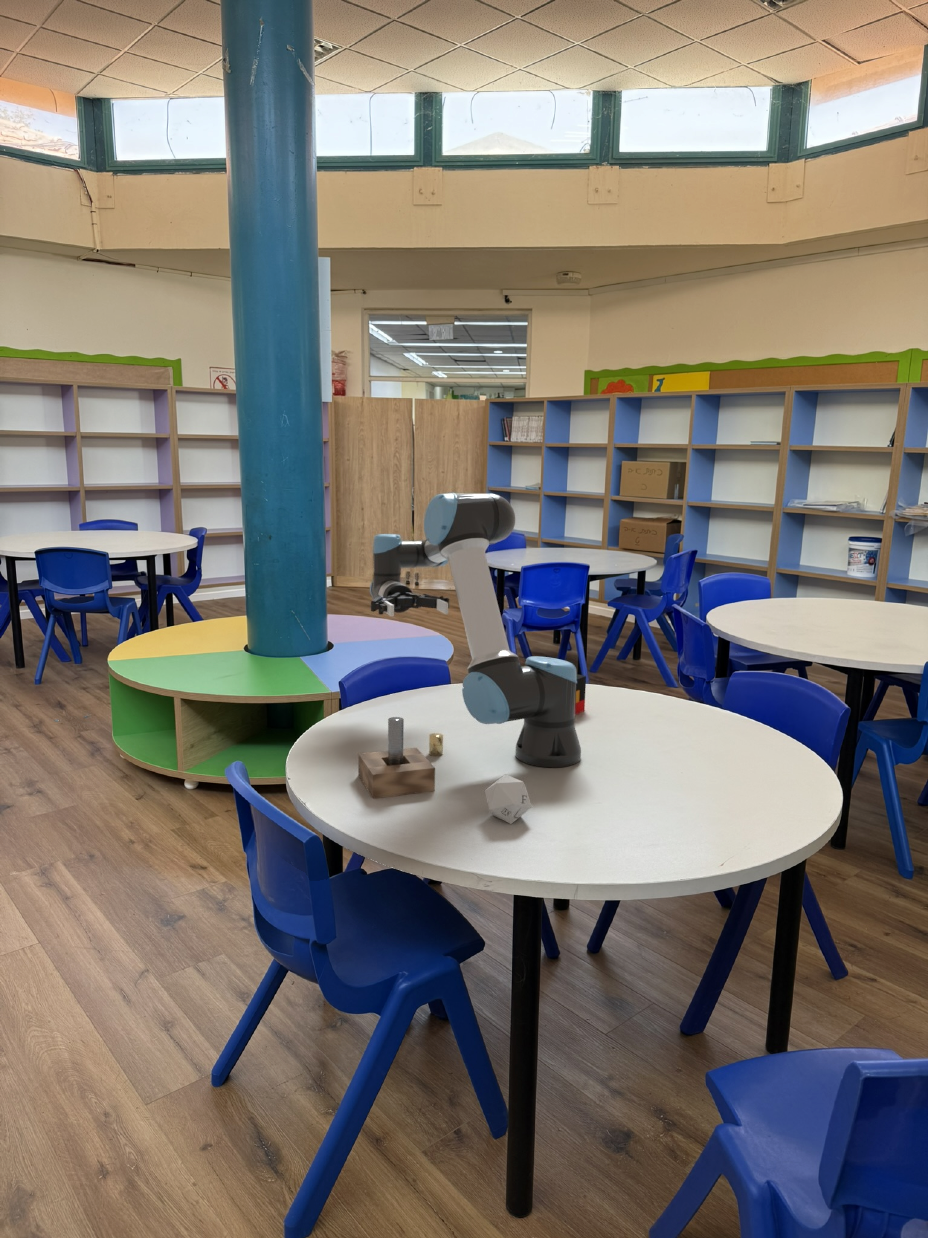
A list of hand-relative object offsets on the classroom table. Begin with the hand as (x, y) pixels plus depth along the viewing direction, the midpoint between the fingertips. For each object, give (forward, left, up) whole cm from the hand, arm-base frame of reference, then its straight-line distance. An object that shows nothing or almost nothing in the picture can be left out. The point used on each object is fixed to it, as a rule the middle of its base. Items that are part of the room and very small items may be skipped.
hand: (419, 609), depth 197 cm
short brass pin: (-10, +7, -32) cm, 34 cm away
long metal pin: (-14, +27, -32) cm, 44 cm away
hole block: (-14, +27, -32) cm, 44 cm away
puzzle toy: (-17, -42, -32) cm, 56 cm away
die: (-42, +28, -32) cm, 60 cm away
